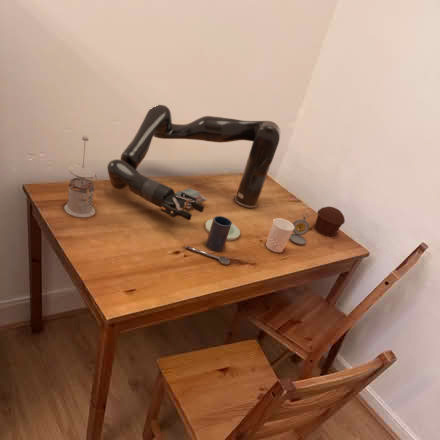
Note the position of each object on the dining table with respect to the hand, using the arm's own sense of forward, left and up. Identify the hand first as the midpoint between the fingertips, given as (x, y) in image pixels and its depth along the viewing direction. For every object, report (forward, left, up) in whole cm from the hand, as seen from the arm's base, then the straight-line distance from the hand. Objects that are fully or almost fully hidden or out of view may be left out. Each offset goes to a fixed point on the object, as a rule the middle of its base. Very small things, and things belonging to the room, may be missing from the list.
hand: (197, 213), depth 145 cm
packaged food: (-20, -7, -8) cm, 23 cm away
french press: (+8, -37, -8) cm, 39 cm away
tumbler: (+3, +9, -8) cm, 12 cm away
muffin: (-38, +48, -8) cm, 62 cm away
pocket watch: (-22, +37, -8) cm, 44 cm away
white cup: (-10, +29, -8) cm, 32 cm away
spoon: (+10, +8, -8) cm, 15 cm away
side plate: (-9, +9, -8) cm, 15 cm away
